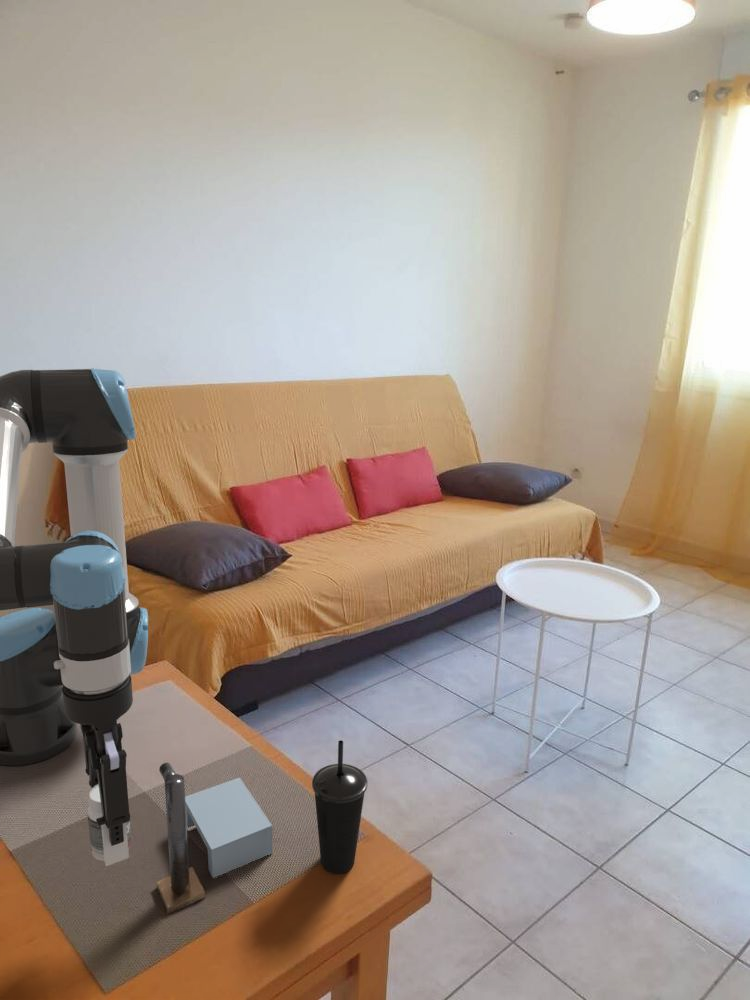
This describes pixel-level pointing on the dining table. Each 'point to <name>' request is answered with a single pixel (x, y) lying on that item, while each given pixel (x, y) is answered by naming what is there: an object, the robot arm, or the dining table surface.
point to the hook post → (177, 847)
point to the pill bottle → (94, 829)
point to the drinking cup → (338, 812)
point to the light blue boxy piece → (229, 825)
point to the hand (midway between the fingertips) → (111, 845)
